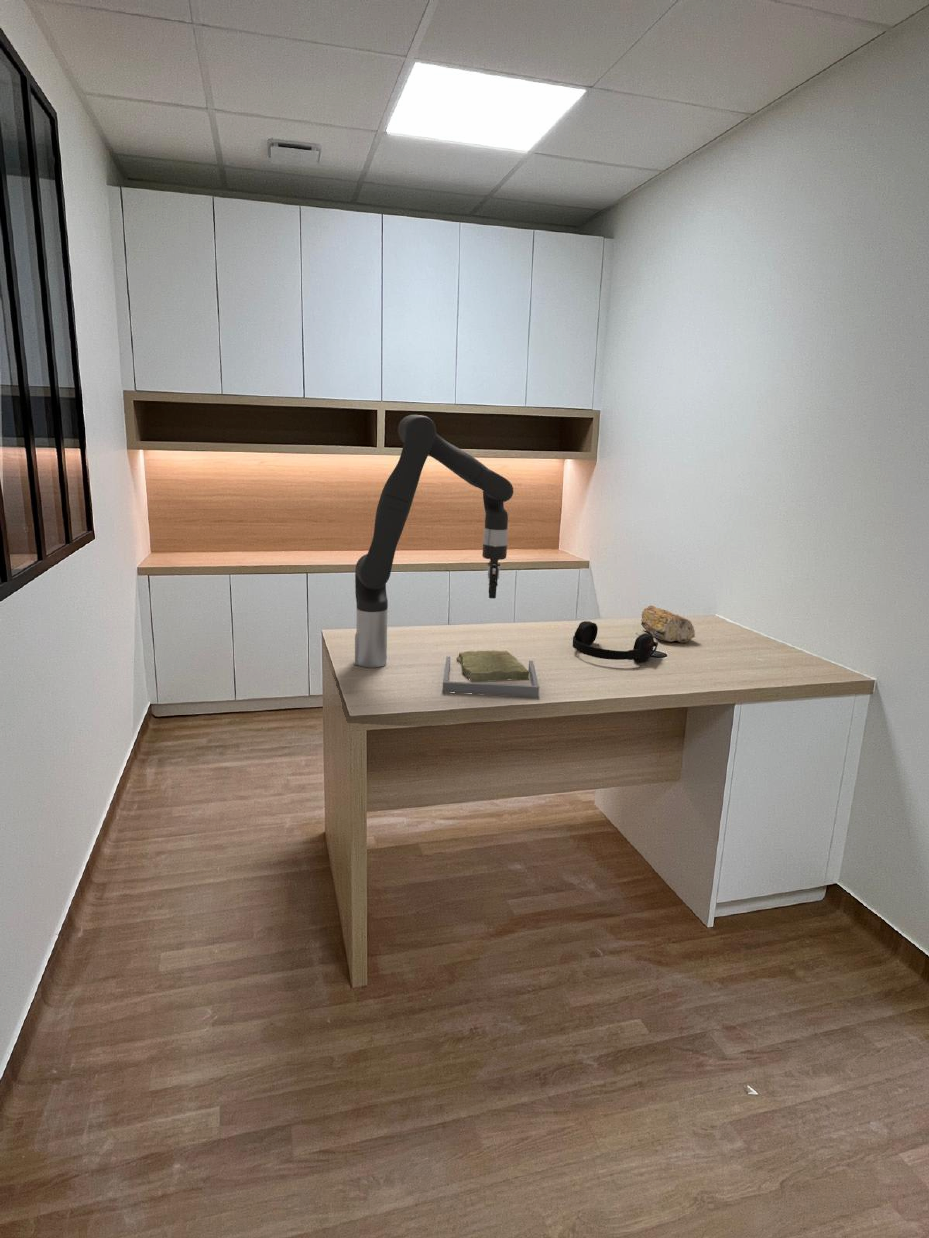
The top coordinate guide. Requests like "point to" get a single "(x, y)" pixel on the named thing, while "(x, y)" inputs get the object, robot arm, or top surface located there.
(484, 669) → the decorative tile
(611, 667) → the top surface
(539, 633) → the top surface
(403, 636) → the top surface
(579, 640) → the headset
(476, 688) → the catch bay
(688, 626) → the petrified wood
